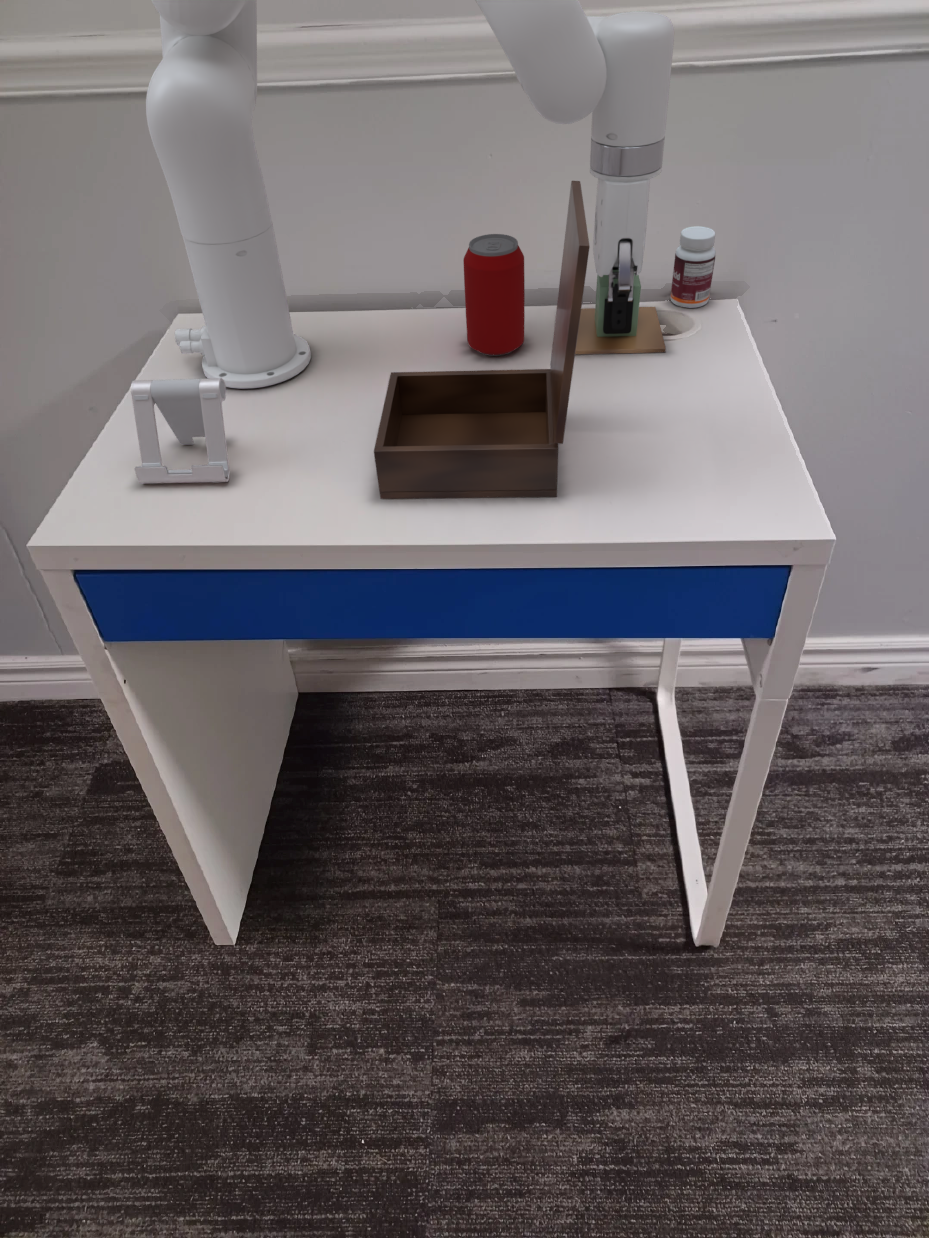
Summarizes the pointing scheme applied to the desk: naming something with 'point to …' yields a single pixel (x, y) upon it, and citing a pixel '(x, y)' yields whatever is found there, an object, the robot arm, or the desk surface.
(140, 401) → the tablet stand
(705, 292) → the pill bottle
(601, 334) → the green block
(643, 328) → the coaster
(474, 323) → the beverage can
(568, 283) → the lid
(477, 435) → the chest
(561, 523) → the desk surface
